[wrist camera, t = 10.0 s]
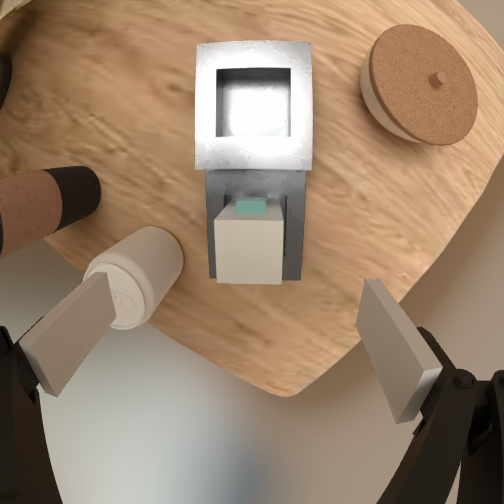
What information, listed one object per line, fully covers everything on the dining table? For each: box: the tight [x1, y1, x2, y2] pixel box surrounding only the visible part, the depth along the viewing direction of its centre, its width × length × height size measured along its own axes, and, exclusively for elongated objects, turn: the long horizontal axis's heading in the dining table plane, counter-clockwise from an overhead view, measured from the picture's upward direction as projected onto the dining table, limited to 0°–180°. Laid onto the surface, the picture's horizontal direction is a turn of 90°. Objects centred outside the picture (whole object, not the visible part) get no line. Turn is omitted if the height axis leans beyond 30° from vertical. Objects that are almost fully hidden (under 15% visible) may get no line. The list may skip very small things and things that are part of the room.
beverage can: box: [82, 226, 184, 330], centre depth 30 cm, size 8×8×12 cm
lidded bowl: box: [360, 25, 478, 145], centre depth 22 cm, size 13×13×11 cm
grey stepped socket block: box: [195, 41, 313, 280], centre depth 27 cm, size 10×24×8 cm, turn 0°
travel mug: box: [0, 166, 101, 259], centre depth 24 cm, size 8×8×20 cm
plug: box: [214, 198, 284, 285], centre depth 26 cm, size 5×6×11 cm
